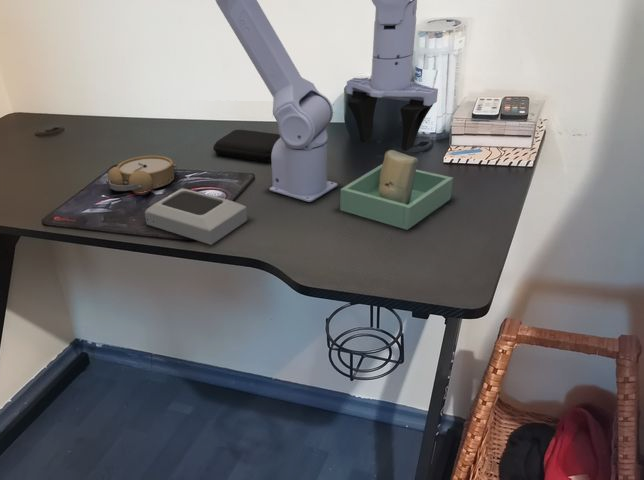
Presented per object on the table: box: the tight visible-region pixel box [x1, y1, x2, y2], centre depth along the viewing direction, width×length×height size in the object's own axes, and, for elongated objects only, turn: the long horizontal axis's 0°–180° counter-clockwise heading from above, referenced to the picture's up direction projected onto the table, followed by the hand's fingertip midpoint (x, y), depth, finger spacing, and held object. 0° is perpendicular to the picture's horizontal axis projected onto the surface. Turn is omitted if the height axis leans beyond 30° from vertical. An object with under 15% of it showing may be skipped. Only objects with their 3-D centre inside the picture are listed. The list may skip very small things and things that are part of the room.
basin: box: [339, 163, 454, 231], centre depth 103 cm, size 13×13×4 cm
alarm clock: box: [105, 155, 178, 196], centre depth 124 cm, size 11×5×15 cm
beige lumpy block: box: [379, 149, 419, 205], centre depth 102 cm, size 6×5×8 cm
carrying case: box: [213, 129, 281, 163], centre depth 130 cm, size 11×3×15 cm
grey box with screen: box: [144, 187, 248, 246], centre depth 108 cm, size 10×4×15 cm
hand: (386, 144), depth 101 cm, fingers open, 7 cm apart
